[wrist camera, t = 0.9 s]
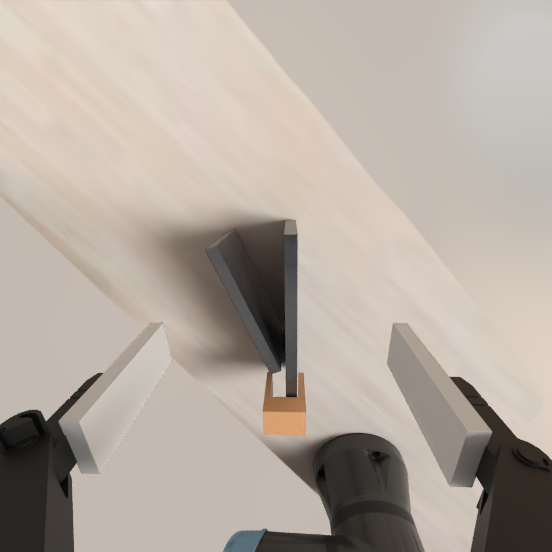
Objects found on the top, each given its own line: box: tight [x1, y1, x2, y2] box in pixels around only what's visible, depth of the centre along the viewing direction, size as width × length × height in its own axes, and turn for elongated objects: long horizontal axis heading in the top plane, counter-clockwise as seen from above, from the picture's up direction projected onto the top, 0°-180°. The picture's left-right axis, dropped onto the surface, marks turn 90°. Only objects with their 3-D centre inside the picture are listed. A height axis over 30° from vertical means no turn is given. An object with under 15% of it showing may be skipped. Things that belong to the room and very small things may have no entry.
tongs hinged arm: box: [205, 229, 283, 374], centre depth 30 cm, size 15×1×9 cm, turn 23°
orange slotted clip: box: [263, 372, 306, 435], centre depth 31 cm, size 3×4×6 cm
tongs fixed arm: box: [281, 220, 297, 397], centre depth 31 cm, size 22×3×9 cm, turn 1°
